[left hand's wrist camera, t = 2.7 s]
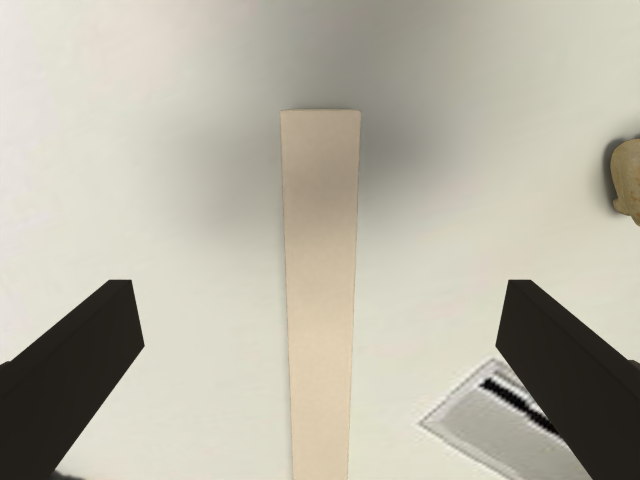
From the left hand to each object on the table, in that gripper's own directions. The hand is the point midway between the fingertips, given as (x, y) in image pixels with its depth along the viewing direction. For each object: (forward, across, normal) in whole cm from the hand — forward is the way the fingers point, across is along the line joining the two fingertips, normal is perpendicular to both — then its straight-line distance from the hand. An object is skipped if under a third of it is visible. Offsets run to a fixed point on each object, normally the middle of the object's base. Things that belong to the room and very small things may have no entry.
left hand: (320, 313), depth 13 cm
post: (+21, 0, -30) cm, 36 cm away
